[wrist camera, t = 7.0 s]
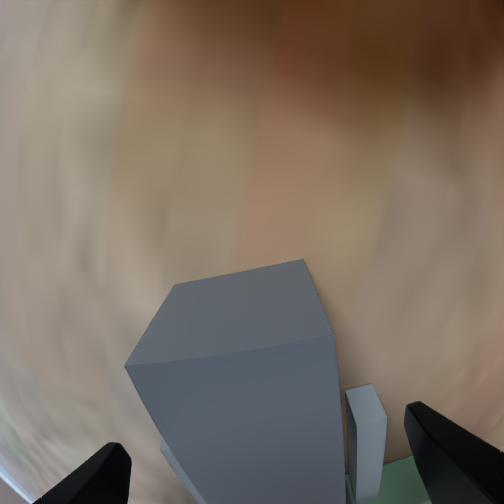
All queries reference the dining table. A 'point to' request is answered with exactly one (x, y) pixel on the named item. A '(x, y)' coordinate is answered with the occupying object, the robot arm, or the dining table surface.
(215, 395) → the slate gray cuboid
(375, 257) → the dining table surface
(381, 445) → the green and blue-gray block
